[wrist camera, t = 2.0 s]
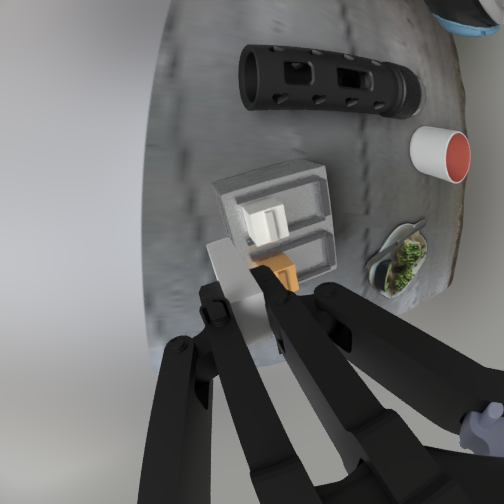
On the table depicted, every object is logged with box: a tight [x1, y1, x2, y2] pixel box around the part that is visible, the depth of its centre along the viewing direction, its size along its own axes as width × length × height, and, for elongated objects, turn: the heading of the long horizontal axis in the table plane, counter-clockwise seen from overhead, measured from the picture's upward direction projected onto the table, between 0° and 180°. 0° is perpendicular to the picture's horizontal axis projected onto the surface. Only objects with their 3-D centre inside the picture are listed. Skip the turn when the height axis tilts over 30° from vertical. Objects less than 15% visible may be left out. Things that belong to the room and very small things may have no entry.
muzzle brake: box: [239, 45, 426, 119], centre depth 33 cm, size 10×28×10 cm, turn 94°
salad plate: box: [365, 219, 427, 298], centre depth 55 cm, size 19×18×5 cm
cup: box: [410, 126, 471, 183], centre depth 43 cm, size 10×10×10 cm
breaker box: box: [211, 159, 337, 284], centre depth 40 cm, size 14×16×9 cm
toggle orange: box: [256, 253, 299, 292], centre depth 37 cm, size 4×4×4 cm
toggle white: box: [242, 197, 289, 247], centre depth 33 cm, size 4×4×4 cm
